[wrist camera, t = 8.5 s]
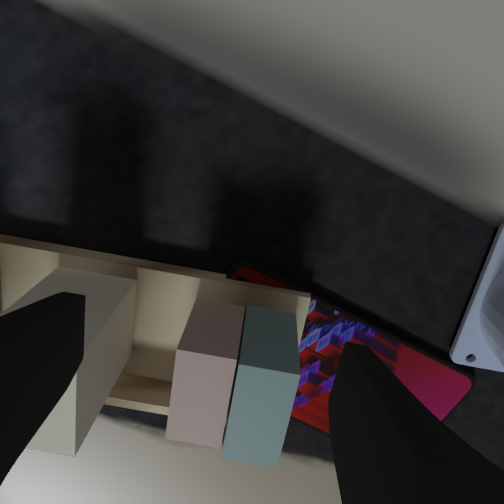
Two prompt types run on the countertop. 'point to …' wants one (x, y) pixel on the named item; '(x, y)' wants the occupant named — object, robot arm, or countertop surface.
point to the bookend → (0, 295)
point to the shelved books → (235, 380)
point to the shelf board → (143, 307)
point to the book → (87, 352)
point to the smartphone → (360, 332)
